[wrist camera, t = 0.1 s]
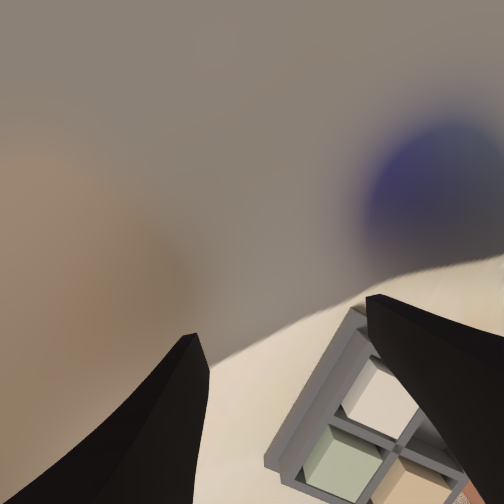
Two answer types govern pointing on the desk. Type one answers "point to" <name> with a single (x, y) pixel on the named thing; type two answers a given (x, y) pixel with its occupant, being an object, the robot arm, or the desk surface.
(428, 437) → the frame board
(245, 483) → the desk surface
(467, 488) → the terracotta block
